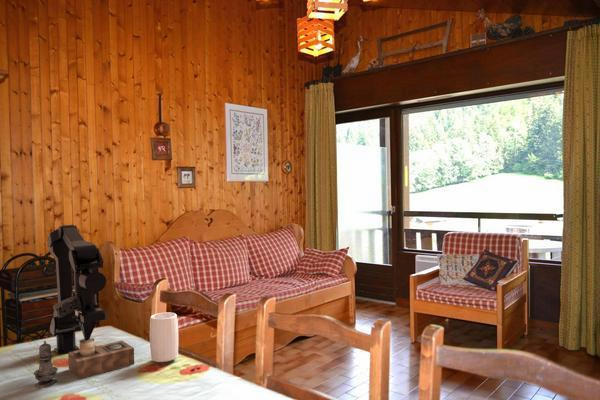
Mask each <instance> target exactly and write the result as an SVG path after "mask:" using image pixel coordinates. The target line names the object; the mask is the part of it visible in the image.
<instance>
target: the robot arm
mask: <svg viewBox="0 0 600 400" xmlns="http://www.w3.org/2000/svg"><path fill="white" fill-rule="evenodd" d="M46 243H47V244H46V245H47V247H48V248H49V253H50V254H51V256H52V257H53V258H54V259H55V269H56V287H57V298H58V300H57V303H55V304H53V305H52V308H53V317H52V319H51V322H50V326H49V331H50V332H49V333H50V334H51V335H52V336H53V337H56V347H54V348H53V351H54V352H55V353H56V354H57V355H62V354H65V353H66V354H68V353H69V352H73V351H78V350H80V347H78V346H77V343H76V340H77V339H76V332H82V335H83V339H85V340H89V339H90V338H91V336H92V334H93V332H94V329H95V327H96V326H97V324H98V322H99V321H105V320H107V318H108V317H107V316H108V315H107V314H108V313H107V311H105V310H104V309H102V308H100V307H99V303H97V295H99V292H101V291H103V289H104V288H105V287H106V285H107V278H106V276H105V275H104V273H102V272H100V271H99V269H102V268H104V259H103V257H102V254H101V253H102V252H101V251H100V250H99V249H100V248H98V247H97V245H96V244H94V243H93V242H91V241H88V240H85V238H84V237H83V236H82V235H81V233H80V232H79V231H78V227H77V225H74V224H65V225H64V224H63V225H60V226H58V228H57V229H55V230H53V231H51V232H50V233H48V236H47V238H46ZM72 271H73V272H74V273H73V275H72ZM73 278H74V279H73ZM73 280H74V290H73Z"/></svg>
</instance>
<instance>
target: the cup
mask: <svg viewBox="0 0 600 400" xmlns="http://www.w3.org/2000/svg"><path fill="white" fill-rule="evenodd" d="M178 323H179V322H178V315H177V314H176V313H175V312H167V311H165V312H159V313H154V314H152V315H151V316H150V317H149V346H150V358H151V361H153V362H156V363H157V362H158V363H164V362H169V361H173V360H176V359H177V358H178V355H179V324H178Z"/></svg>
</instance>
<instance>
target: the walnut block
mask: <svg viewBox="0 0 600 400" xmlns="http://www.w3.org/2000/svg"><path fill="white" fill-rule="evenodd" d="M117 344H119V345H122V347H121V348H117V349H113V350H108V347H109V346H111V345H117ZM67 356H68V357H67V358H68V359H67V360H68V370H69V372H71V374H73V375H74V376H75V377H76V378H77V379H78V380H81V379H84V378H87V377H88V378H89V377H92V376H95V375H99V374H104V373H107V372H110V371H113V370H118V369H122V368H126V367H129V366H133V365H135V348H134V347H133V346H131V345H130V344H129V343H127V342H126V341H124V340H118V341H115V342H114V341H113V342H109V343H105V344H100V345H96V346H95V354H92V355H88V356H83V357H80V349H79V350H76V351H71V352H67Z"/></svg>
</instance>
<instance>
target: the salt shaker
mask: <svg viewBox="0 0 600 400" xmlns="http://www.w3.org/2000/svg"><path fill="white" fill-rule="evenodd" d="M38 348H39V349H38V352H39V353H38V354H39V355H38V356H39V357H37V360H38V361H39V362H38V363H39V365H38V366H39V367H38V368H37V369H36V370H35V371H34V372H33V376H34V378H35V380H37V381H38V382H37V383H35V386H34V387H35V388H38V389H42V388H48V387H51V386H54V385H55V384H57V382H58V381H57V380H56V379H55V377H56V375H57V373H58V367H55V366H53V363H52V362H53V361H52V360H53V359H52V358H53V355H52V345H51V344H50V343H47V341H46V340H44V341H43V344H40V346H39V347H38Z"/></svg>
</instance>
